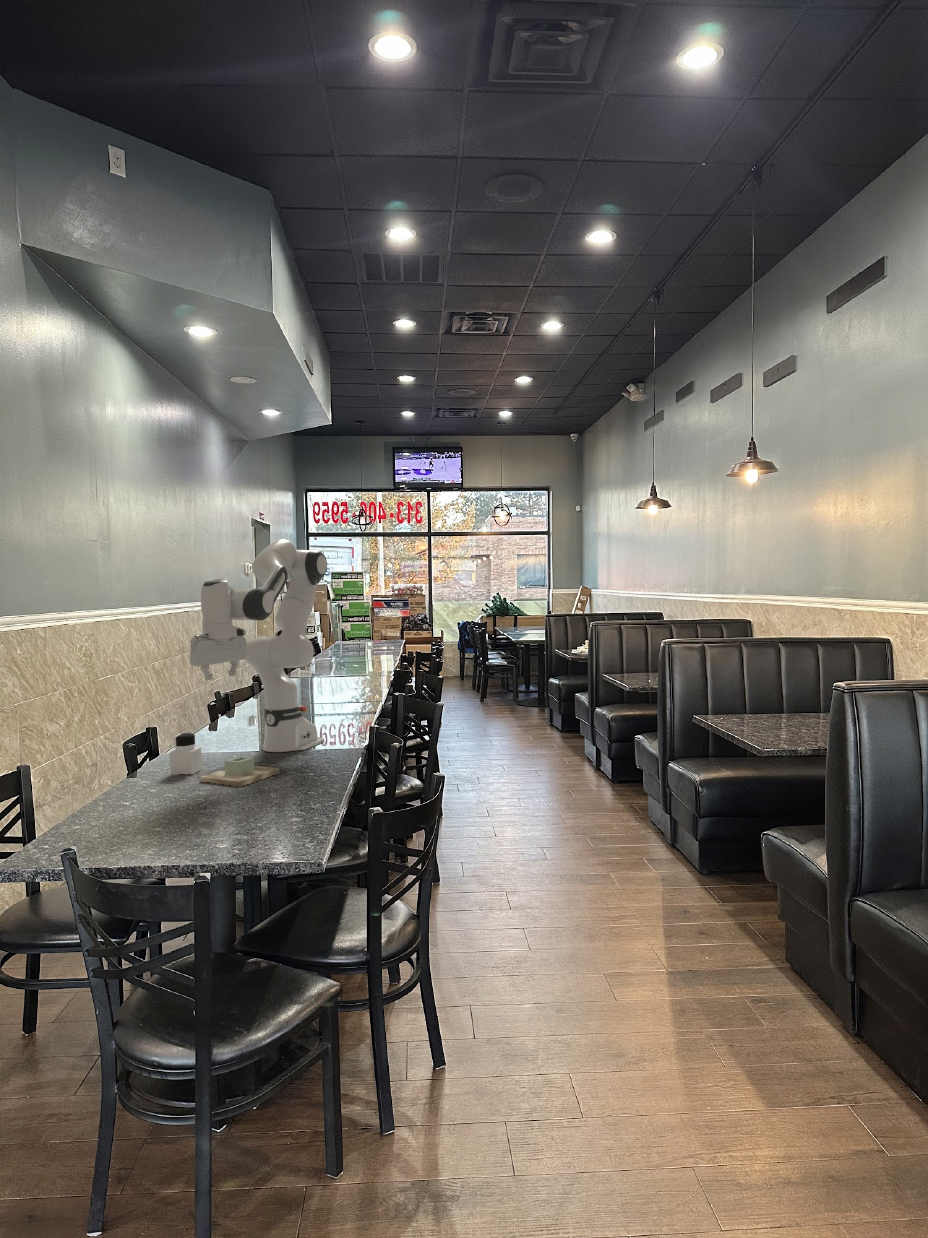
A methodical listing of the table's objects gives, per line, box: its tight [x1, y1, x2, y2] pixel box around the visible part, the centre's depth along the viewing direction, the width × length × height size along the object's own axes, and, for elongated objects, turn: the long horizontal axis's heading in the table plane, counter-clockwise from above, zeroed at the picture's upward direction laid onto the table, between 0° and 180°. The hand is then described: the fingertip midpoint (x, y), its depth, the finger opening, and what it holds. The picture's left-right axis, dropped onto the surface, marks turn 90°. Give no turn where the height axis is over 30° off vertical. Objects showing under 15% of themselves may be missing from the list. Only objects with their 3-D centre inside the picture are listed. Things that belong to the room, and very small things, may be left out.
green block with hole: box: [224, 755, 256, 776], centre depth 235 cm, size 6×6×4 cm
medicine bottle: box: [169, 732, 203, 776], centre depth 245 cm, size 7×7×12 cm
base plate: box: [199, 765, 280, 788], centre depth 235 cm, size 16×16×4 cm
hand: (220, 677), depth 242 cm, fingers open, 8 cm apart
